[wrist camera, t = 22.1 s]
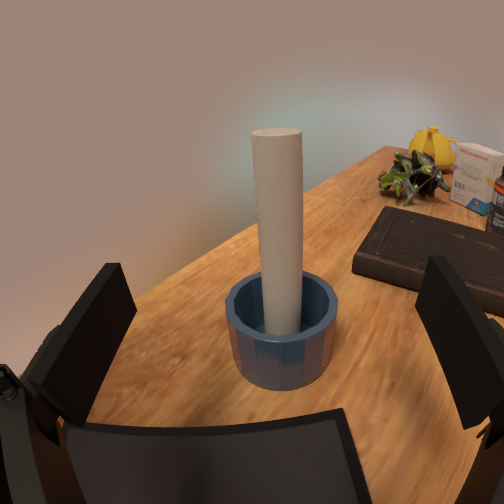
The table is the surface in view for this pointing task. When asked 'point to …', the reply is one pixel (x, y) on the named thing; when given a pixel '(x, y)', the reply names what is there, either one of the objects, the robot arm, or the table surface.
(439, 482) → the table surface
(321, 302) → the pen pot
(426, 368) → the table surface
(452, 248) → the dark brown flat block
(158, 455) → the tablet
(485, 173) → the ink box
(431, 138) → the teapot
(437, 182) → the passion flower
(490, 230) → the supplement bottle
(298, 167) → the white cylindrical rod
